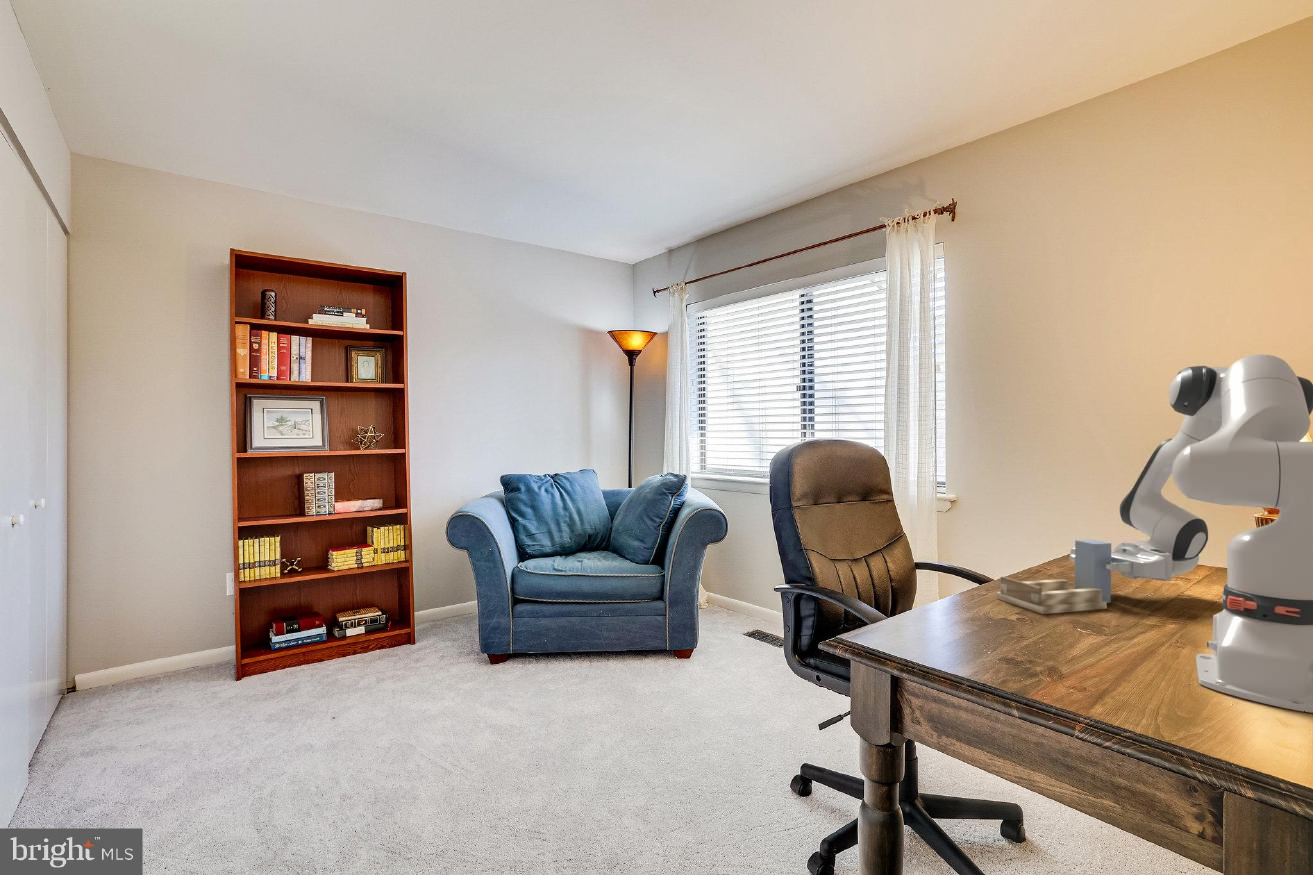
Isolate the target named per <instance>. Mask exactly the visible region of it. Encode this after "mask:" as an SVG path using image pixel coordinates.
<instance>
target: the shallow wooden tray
mask: <svg viewBox="0 0 1313 875" xmlns="http://www.w3.org/2000/svg"><path fill="white" fill-rule="evenodd" d="M1068 585H1069V584H1068V580H1066V579H1062V578H1057V579H1043V580H1028V581H1021V580H1016V579H1014V578H1011V577H1007V576H1000V591H998V592H996V598H995V599H997V600H1000V601H1003V602H1005V603H1008V604H1011V605H1014V606H1018V607H1021V608H1023V609H1027V610H1030V611H1032V612H1035V613H1038V614H1041V615H1046V614H1059V613H1070V612H1071V613H1072V612H1082V611H1083V612H1084V611H1094V610H1095V611H1096V610H1105V609H1108V606H1107V602H1105V601H1102V590H1101V589H1097V588H1086V589H1075V588H1074V589H1072V588H1071V589H1068V587H1069V586H1068Z"/></svg>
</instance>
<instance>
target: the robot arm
mask: <svg viewBox="0 0 1313 875" xmlns="http://www.w3.org/2000/svg"><path fill="white" fill-rule="evenodd" d="M1168 398H1169V401H1170V402H1169V403H1170V406H1171V408H1172V409H1173V410H1174V412H1176V413H1179V414H1182V415H1185V416H1184V419H1183V420H1182V424H1181V426H1180V429H1179V431H1178V433H1177V434H1176V436H1174V437H1173V438H1168V439H1165V440H1163V441H1162V442H1161V443H1160V444H1159V445H1158V446H1156V448H1155V449H1154V451H1153V453H1152V454H1151V455H1150V458H1149V459H1148V460H1147V462H1146V464H1145V466H1144V468H1143V469H1142V471H1141V472H1140V474H1139V476H1138V478H1137V479H1136V481H1135V483H1134V485H1133V486H1132V488H1131V490H1130V491H1129V492H1128V493H1127V494H1126V495H1125V496H1124V497H1123V500H1122V501H1121V502H1120V504H1119V514H1120V516H1119V517H1120V518H1121V521H1122V523H1123V524H1125V525H1128V526H1129V527H1131V528H1134V529H1135V530H1138V531H1140V532H1141V533H1143V534H1145V535H1146V536H1148V537H1150V539H1148V540H1144V541H1143V540H1141V541H1124V542H1120V543H1119V544H1117V545H1116V547H1115V548H1114V549H1111V562H1110V563H1106V570H1109V571H1111V572H1118V573H1119V574H1121V576H1123V577H1125V578H1127V579H1134V580H1135V579H1136V580H1138V579H1141V580H1145V579H1149V580H1154V581H1155V580H1156V581H1160V582H1162V581H1163V582H1170V581H1171V580H1172V577H1174V576H1180V575H1183V574H1186V573H1188V572H1191V571H1192V570H1194V568H1196V567H1197V565H1198V563H1199V561H1200V556H1199V555H1200V554H1201V553H1202V552H1203V550H1204V549H1205V547H1206V545H1207V544H1208V541H1209V529H1208V524H1207V523H1206V521H1205V520H1204V519H1202V518H1200V517H1198V516H1197V515H1195V514H1194V513H1191V512H1190V511H1188V510H1186V509H1184V508H1183V507H1180V506H1178V505H1177V504H1175V503H1173V502H1172V501H1169V500H1168V499H1166V498H1165V497H1164V495H1163V494H1162V489H1163V488H1164V486H1165V484H1166V483H1167V481H1168V479H1169V478H1170V477H1171V475H1172V479H1173V483H1175V484H1174V485H1175V486H1176V487H1177V489H1178V490H1179V491H1180V492H1181V494H1183V495H1184V496H1185V497H1186V498H1187V499H1191V500H1196V501H1201V502H1205V503H1209V504H1215V505H1220V506H1232V507H1233V506H1237V507H1253V508H1273V509H1275V510H1276V509H1277V510H1279V512H1278V516H1277V517H1276V518H1275V520H1273V522H1270V523H1269V524H1266V525H1262V526H1258V527H1255V528H1251V529H1248V530H1246V531H1245V530H1244V531H1243V532H1240V533H1238V534H1237V535H1235V536H1234V537H1232V538H1231V540H1230V541H1229V542H1228V545H1227V555H1226V556H1227V557H1226V558H1227V560H1226V562H1227V564H1226V565H1227V567H1226V568H1227V570H1226V574H1227V576H1226V584H1225V585H1223V592H1222V595H1221V596H1222V597H1221V598H1222V608H1223V610H1221V611H1219V612H1217V613H1216V614H1213V618H1212V619H1213V620H1212V623H1213V624H1212V641H1211V640H1208V642H1206V644H1207V645H1206V647H1207V648H1208V650H1212V654H1211V653H1197V654H1196V657H1195V663H1196V670H1197V671H1196V672H1197V678H1198V683H1199V684H1200V685H1202V686H1204V687H1206V688H1209V689H1211V690H1214V691H1217V692H1220V693H1224V694H1227V695H1230V696H1233V697H1236V698H1237V697H1238V698H1242V699H1245V700H1250V701H1252V702H1257V703H1261V704H1265V705H1270V706H1275V707H1279V708H1283V709H1288V710H1293V711H1298V712H1304V711H1305V713H1312V714H1313V441H1301V440H1303V439H1304V438H1305V436H1306V435H1307V434H1308V433H1309V431H1310V428H1311V414H1312V412H1313V382H1312V381H1311V380H1309V379H1308V378H1305V377H1302V376H1298V375H1297V374H1296V373H1295V372H1294V370H1293V369H1292V367H1291V366H1290V365H1289V364H1288V363H1287V361H1285V360H1284V359H1282V358H1281V357H1278V356H1275V355H1271V354H1265V353H1264V354H1259V353H1258V354H1252V355H1248V356H1244V357H1242V358H1240V359H1237V360H1236V361H1234V362H1233V363H1232V364H1231V365H1230V366H1229V367H1219V366H1218V367H1209V366H1207V365H1195V366H1188V367H1185V368H1183V369H1181V370H1180V371H1178V373H1177V375H1176V376H1175V377H1174V378H1173V380H1172V381H1171V383H1170V386H1169V390H1168ZM1069 562H1071V563H1074V564H1075V546H1072V547H1071V548H1070V551H1069Z"/></svg>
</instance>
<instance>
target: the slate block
mask: <svg viewBox="0 0 1313 875" xmlns="http://www.w3.org/2000/svg"><path fill="white" fill-rule="evenodd" d="M1074 543H1075V544H1074V547H1075V563H1074V589H1086V588H1097V589H1101V590H1102V601H1105V602H1107V603H1108V604H1109V603H1112V602H1111V598H1112V597H1111V595H1112V593H1111V592H1112V588H1111V587H1112V571H1109V570H1106V563H1110V562H1111V550H1112V543H1111V542H1106V541H1100V540H1096V539H1079V540H1075V542H1074Z"/></svg>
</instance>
